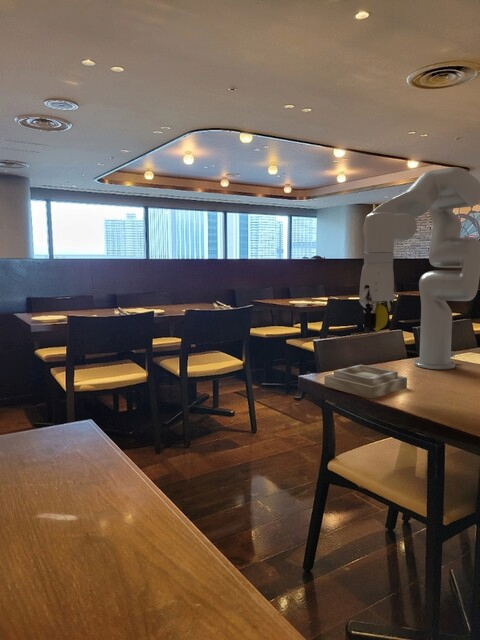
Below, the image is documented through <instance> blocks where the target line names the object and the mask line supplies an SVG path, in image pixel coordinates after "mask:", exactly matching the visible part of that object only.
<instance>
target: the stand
mask: <svg viewBox="0 0 480 640" xmlns="http://www.w3.org/2000/svg"><path fill="white" fill-rule="evenodd" d="M323 378H324V380H323V382H324V387H326V388H330V389H334V390H336V391H341V392H344V393H348V394H352V395H355V396H359V397H364V398H367V399H370V400H371V399H372V400H373V399H375V398H379V397H382V396H386V395H388V394H392V393H394V392H395V393H396V392H398V391H402V390H404V389H407V388H408V376H404V375H399V372H398V371H395V370H391V369H386V368H381V367H377V366H376V367H375V366H371V365H365V364H357V365H353V366H348V367H345V368H339V369H336V370H333V373H331V374H328V375H324V377H323Z"/></svg>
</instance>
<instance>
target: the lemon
mask: <svg viewBox="0 0 480 640" xmlns="http://www.w3.org/2000/svg"><path fill="white" fill-rule="evenodd" d="M383 305H384V304H383ZM383 305H382V304H380V303H379V302H377V304H376V308H375V312H374V313H376V328H372V329H373V330H374V331H375V332H379V331H380V330H382V329H383V328H385V327H387V326H386V324H387V321H388V312H387V309H386V307H385V306H383ZM370 306H371V307H372V305H370Z"/></svg>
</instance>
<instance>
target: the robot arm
mask: <svg viewBox="0 0 480 640" xmlns="http://www.w3.org/2000/svg"><path fill="white" fill-rule="evenodd" d="M479 203H480V181H479V180H478V179H477V177H475V176H474V175H472V174H471V173H470V172H469V171H468V170H466V169H464V168H462V167H457V166H452V167H447V168H440V169H434V170H428V171H425V172H424V173H421V174H420V175H419V176H418V178H417V179H416V180H415V181H414V182H413V183H412V184H411V185H410V187H408V188H407V190H406V191H404V192H402V193H401V194H399V195H397V196H394V197H393V198H391V199H389V200H387V201H385V202H383V203H381V204H380V205H378V206H377V207H376V208H374V209H373V210H372V211H371V212H370V213H368V214H366V216H365V220H364V223H363V226H362V233H363V236H364V245H363V247H364V252H363V253H364V255H363V265H362V269H361V275H360V278H359V279H360V281H359V294H358V295H359V298H358V299H359V300H358V302H359V304H360V305H361V308H362V309H363V313H364V328H369V329H373V328H376V313H374V312H375V308H376V304H377V302H379V303H380V304H382V305H383V306H385V307H386V309H387V312H388V321H387V324H386V326H385V327H388V326H390V315H391V314H390V313H391V312H390V311H391V310H392V305H393V302H394V301H395V299H396V296H395V276H394V275H395V274H394V252H395V249H394V248H395V247H394V245H395V242H403V241H408V240H410V239H411V238H413V237H414V235H415V234H416V232H417V228H418V227H417V226H418V225H417V221H416V218H418V217H420V216H421V217H422V216H423V215H424V214H426V213H427V212H429V215H430V217H431V220H432V233H431V239H430V246H429V253H428V260H429V261H428V262H429V264H430V265H431V266H433V267H435V268H447V269H448V268H451V269H452V268H459V269H460V268H461V270H431V271H427V272H424V273H423V274H422V275H421V276H420V278H419V281H418V290H419V295H420V296H419V297H420V307H421V309H420V334H419V335H420V337H419V358H418V359H415V360H414V365H415V366H416V367H419V368H423V369H428V370H452V369H454V368H456V363H455V362H454V361H451V358H454V357H455V355H456V353H455V352H454V351H452V331H453V330H452V329H453V312H452V308H451V307H450V306H449V304H448V303H447V301H451V302H452V301H453V302H470V301H472V300H474V298H475V297H476V295H477V294H478V289H479V283H480V239H478V238H476V237H471V236H469V237H460V236H461V231H462V223H461V221H460V219H459V218H458V215H456V214H455V213H454V212H453V211H452V209H462V208H463V209H464V208H472V207H474V206H476V205H477V204H479ZM371 306H372V307H371Z"/></svg>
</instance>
